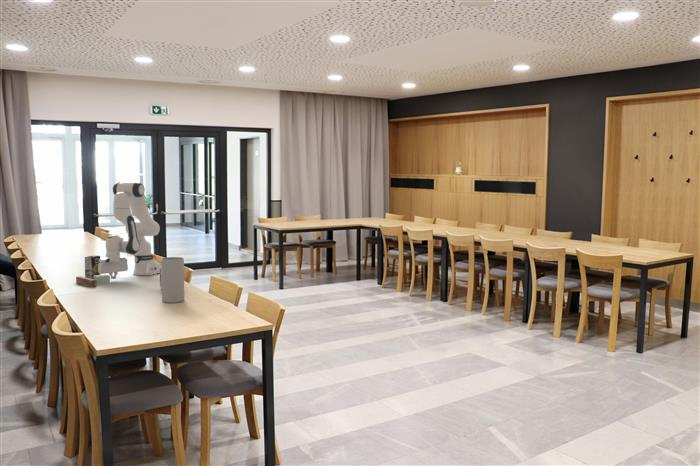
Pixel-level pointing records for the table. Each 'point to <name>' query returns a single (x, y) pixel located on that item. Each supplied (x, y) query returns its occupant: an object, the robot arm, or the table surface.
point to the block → (102, 279)
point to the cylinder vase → (172, 279)
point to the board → (86, 281)
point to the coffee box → (91, 266)
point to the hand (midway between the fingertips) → (113, 278)
